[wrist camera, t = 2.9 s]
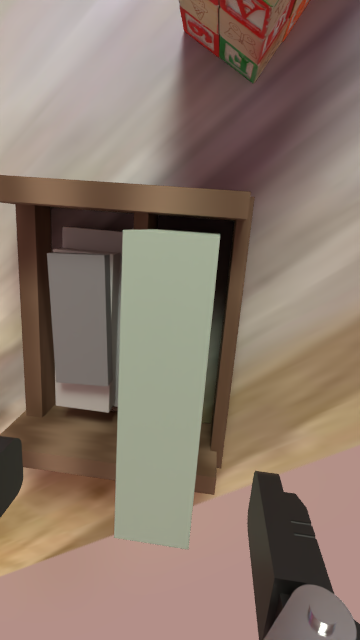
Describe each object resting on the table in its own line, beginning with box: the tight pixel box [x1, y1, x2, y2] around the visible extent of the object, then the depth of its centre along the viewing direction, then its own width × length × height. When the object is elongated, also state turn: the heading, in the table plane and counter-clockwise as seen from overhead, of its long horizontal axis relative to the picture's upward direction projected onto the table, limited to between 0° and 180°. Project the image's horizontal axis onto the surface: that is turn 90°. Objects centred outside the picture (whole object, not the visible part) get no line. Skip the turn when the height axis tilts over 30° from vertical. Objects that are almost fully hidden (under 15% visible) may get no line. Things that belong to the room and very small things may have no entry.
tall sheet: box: [114, 229, 220, 549], centre depth 23 cm, size 4×16×14 cm, turn 176°
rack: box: [0, 175, 255, 495], centre depth 26 cm, size 18×21×7 cm
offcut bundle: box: [47, 227, 123, 413], centre depth 28 cm, size 5×15×5 cm, turn 175°
